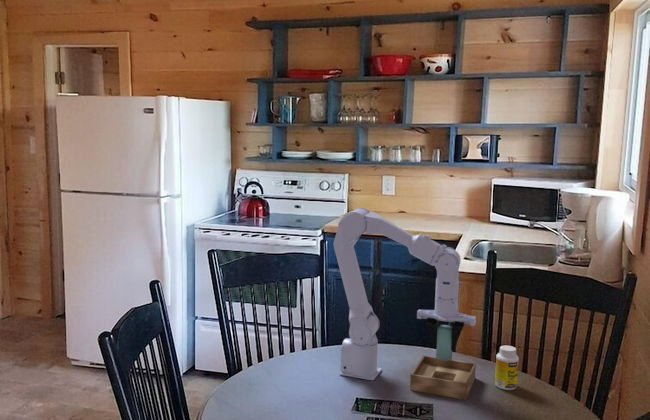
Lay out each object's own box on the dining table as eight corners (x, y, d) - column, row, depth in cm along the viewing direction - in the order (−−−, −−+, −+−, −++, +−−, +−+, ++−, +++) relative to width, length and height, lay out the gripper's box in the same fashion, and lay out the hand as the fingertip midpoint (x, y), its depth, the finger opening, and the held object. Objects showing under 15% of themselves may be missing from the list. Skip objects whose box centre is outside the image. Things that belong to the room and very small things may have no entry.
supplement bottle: (507, 392, 148) (509, 353, 146) (489, 384, 152) (491, 346, 151) (521, 387, 151) (524, 349, 150) (504, 380, 155) (506, 342, 154)
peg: (434, 358, 151) (435, 328, 149) (439, 353, 154) (440, 324, 153) (449, 362, 149) (450, 331, 147) (454, 356, 152) (455, 326, 151)
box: (410, 389, 149) (410, 374, 148) (422, 369, 162) (423, 355, 161) (466, 399, 144) (467, 384, 143) (475, 378, 156) (475, 363, 156)
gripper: (414, 297, 149) (413, 349, 150) (473, 304, 143) (471, 358, 145) (421, 290, 155) (419, 340, 157) (477, 297, 150) (475, 348, 151)
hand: (444, 348), depth 151 cm, fingers closed on peg, 4 cm apart
